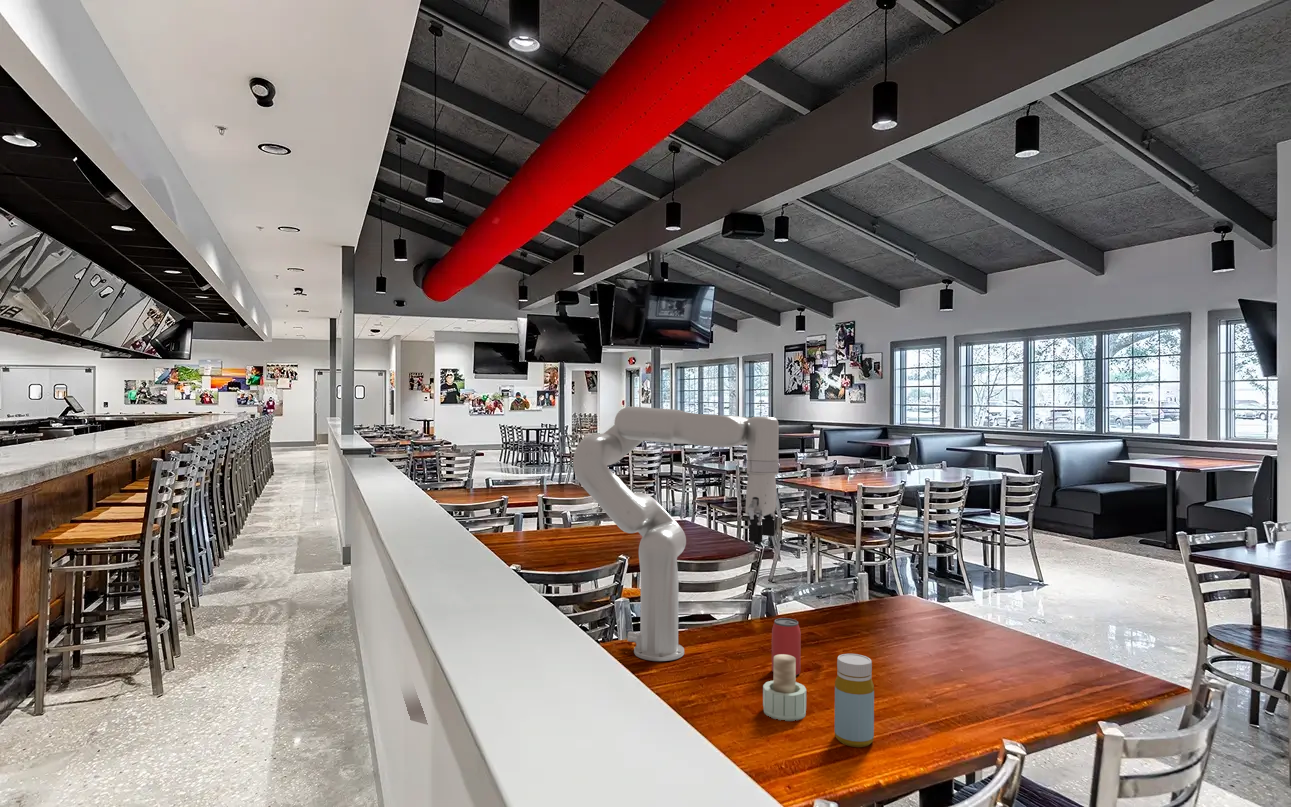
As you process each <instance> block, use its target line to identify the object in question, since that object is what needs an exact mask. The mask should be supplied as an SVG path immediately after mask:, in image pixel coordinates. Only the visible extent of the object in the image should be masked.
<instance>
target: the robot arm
mask: <svg viewBox="0 0 1291 807" xmlns="http://www.w3.org/2000/svg"><path fill="white" fill-rule="evenodd" d="M779 426H780V425H779V421H778V419H777V418H776V417H773V416H753V417H746V416H740V415H739V416H738V415H720V414H719V415H717V414H706V413H705V414H704V413H703V414H702V413H691V412H686V411H684V410H682V409H681V410H680V409H673V408H671V409H669V408H659V407H658V408H657V407H645V406H644V407H643V406H626V407H623V408H621V409H620V410H619V411H618V412H617V413H616V415H615V417H614V425H612V426H611V427H610V428H608V430H606V431H605V432H603V433H597V434H592V435H588V436H586V437H584V438H583V439H581V440H580V442H579V443H578V444H577V445H576V447H575V451H574V453H573V458H572V459H573V460H572V461H573V464H572V465H573V466H572V467H573V472H574V475H575V477H576V479H577V481H578V482H579V485H581V486H582V488H583V489H584V490H585V491H586V492H587V494H588V495H589V496H590V497H591V498H592V500H594V501H595V502H596V504H597V505H598V506H599V507H600V508H601V509H602V510H603V512H605V514H606V515H607V516H608V517H609V518H610V519H611V520H612V521H613V522H614V524H615V525H616V526H617V527H618V528H619V530H621V531H623V532H624V533H626V534H635V533H638V534H639V535H640V536H641V539H640V542H639V545H638V560H639V561H638V562H639V570H640V572H639V573H640V574H639V575H640V619H639V620H640V626H639V628H640V629H639V630H640V631H639V632H635V631H628V632H627V642H630V643H634V644H636V646H634V649H633V653H634V655H635V656H636V657H637V658H640V659H642V660H644V661H645V660H646V661H652V662H668V661H675V660H678V659H681V658H682V657H683V656H684V655H685V648H684V647H683V646H682V645H681V644H679V592H680V591H679V571H678V570H679V569H678V557H679V556H680V555H682V553H683V552H684V550H685V548H686V546H687V536H686V533H685V531H684V530H683V528H682V527H681V525H680V524H679V523H678V522H677V521H676V520H675V519H674V518H673V516H671V515H670V513H668V512H667V511H666V509H664V507H663V506H662V505H661V504H660V503H659V502H658V501H657V500H656V499H655V498H654V497H652V496H651V495H649V494H647V493H644V492H635V493H634V491H632V490H631V489H630V488H629V487H628V485H626V484H625V483H624V482H623V480H622V479H621V478H620V477H619V476H618V475H616V474H615V473H614V472H612V470H611V469H610V468H609V467H608V466H610V465H615V464H616V463H618V462H619V461H621V460H622V459H623V458H624V457H625V456H627V455H628V454H629V453H630V452H632V451H633V450H634V449H636V448H637V446H639V445H640V444H642V443H643V442H656V443H664V444H665V443H666V444H676V445H692V446H693V445H696V446H702V447H703V446H704V447H715V448H716V447H717V448H732V447H737V446H743V445H746V448H747V449H746V475H747V481H746V482H747V483H746V493H745V494H746V495H745V514H746V516H747V518H748V541H749V542H751V543H762V542H763V536H764V537H765V536H766V537H774V536H775V535H776V520H775V519H776V514H775V512H776V509H777V488H776V487H777V486H776V485H777V480H776V476H778V475H779V435H780V433H779V429H780V428H779Z"/></svg>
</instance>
